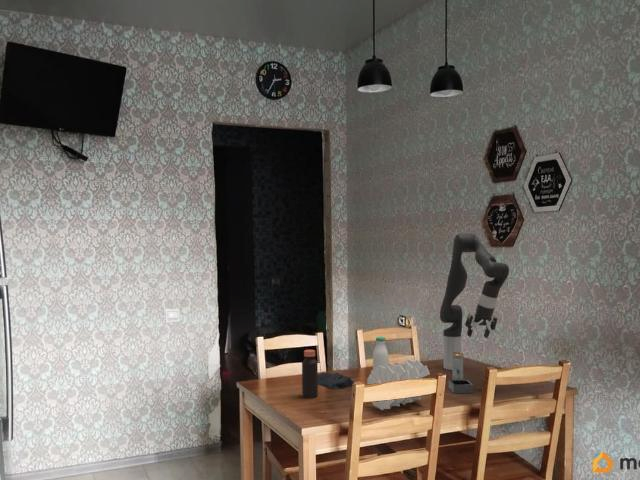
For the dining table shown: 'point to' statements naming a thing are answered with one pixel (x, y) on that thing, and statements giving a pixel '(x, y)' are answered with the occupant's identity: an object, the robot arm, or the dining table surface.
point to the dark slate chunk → (334, 380)
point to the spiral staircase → (397, 373)
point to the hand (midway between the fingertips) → (477, 336)
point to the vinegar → (309, 375)
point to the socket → (461, 386)
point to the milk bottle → (380, 353)
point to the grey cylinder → (457, 365)
